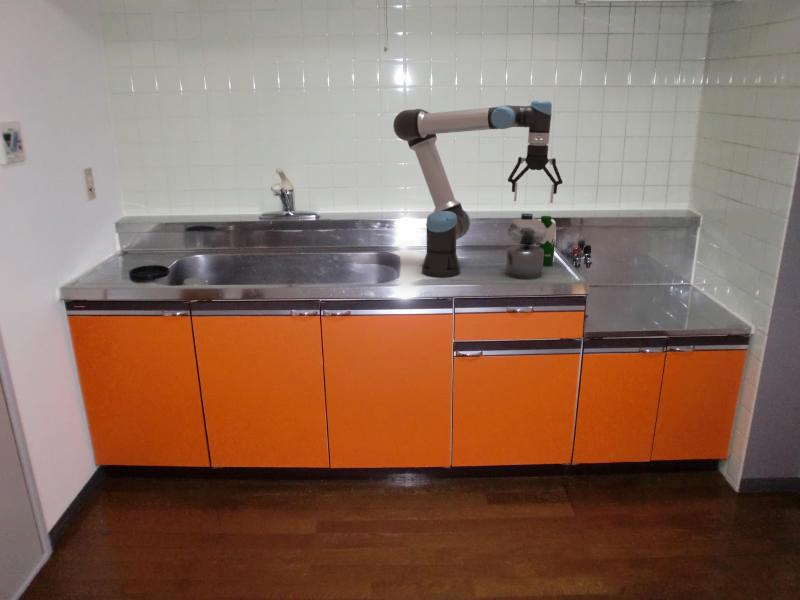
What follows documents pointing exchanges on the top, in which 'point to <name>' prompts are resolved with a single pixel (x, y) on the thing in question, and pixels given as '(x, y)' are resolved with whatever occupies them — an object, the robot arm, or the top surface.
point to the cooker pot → (524, 262)
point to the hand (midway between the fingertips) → (533, 201)
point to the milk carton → (548, 240)
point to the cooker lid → (527, 230)
